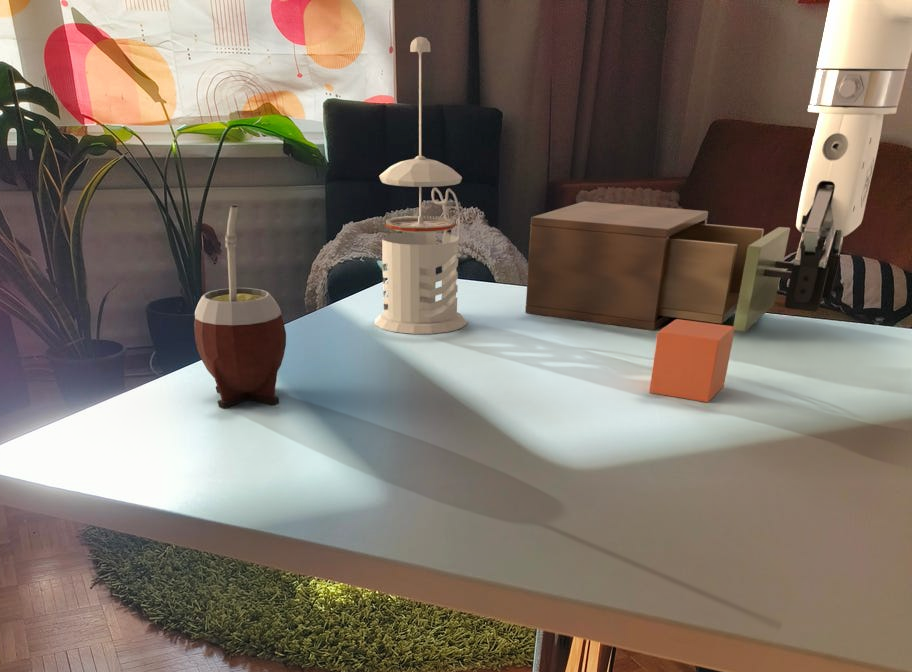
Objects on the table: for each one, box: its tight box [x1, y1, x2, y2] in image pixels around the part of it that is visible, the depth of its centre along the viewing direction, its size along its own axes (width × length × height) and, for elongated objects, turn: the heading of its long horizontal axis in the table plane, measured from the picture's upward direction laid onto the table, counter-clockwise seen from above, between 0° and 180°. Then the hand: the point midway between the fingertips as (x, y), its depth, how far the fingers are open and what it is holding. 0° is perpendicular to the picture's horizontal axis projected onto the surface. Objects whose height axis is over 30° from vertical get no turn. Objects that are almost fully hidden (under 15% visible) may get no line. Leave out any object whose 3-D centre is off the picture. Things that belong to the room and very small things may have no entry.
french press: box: [374, 36, 468, 335], centre depth 88 cm, size 10×12×25 cm
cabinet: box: [524, 201, 709, 331], centre depth 98 cm, size 15×15×10 cm
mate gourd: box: [193, 203, 287, 409], centre depth 68 cm, size 8×8×15 cm
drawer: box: [658, 223, 827, 332], centre depth 93 cm, size 18×13×8 cm
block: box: [648, 318, 736, 403], centre depth 74 cm, size 5×5×5 cm
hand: (808, 300), depth 90 cm, fingers closed on drawer, 6 cm apart
